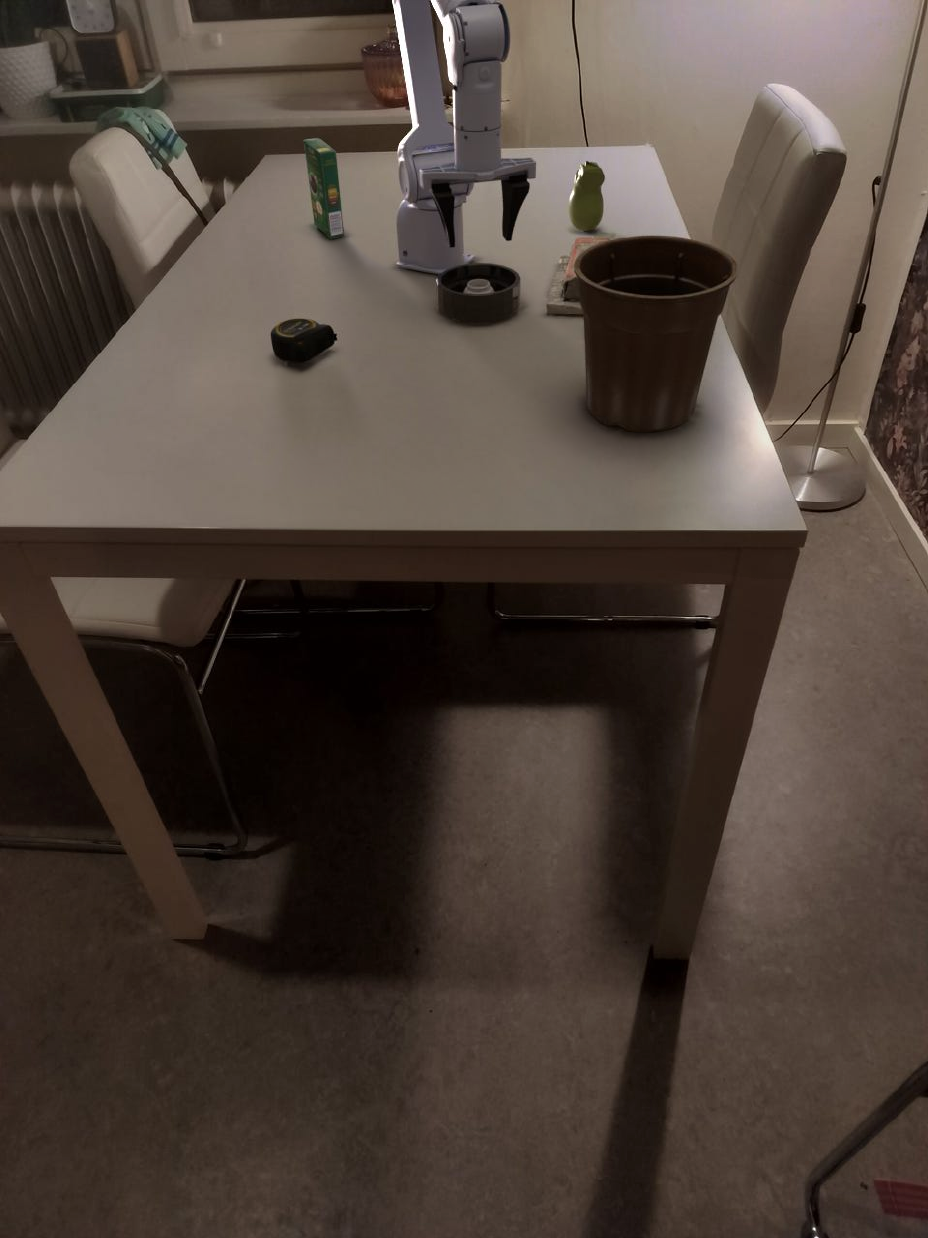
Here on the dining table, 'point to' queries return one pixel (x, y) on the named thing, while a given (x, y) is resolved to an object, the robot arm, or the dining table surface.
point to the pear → (587, 197)
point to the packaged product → (569, 280)
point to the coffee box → (324, 187)
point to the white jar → (478, 287)
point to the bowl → (478, 305)
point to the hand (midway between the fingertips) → (479, 241)
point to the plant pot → (649, 326)
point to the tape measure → (301, 339)
